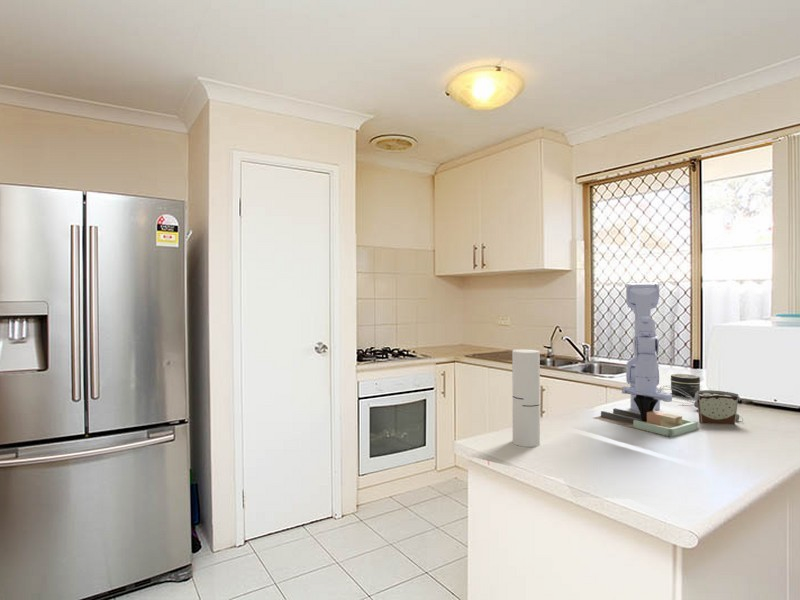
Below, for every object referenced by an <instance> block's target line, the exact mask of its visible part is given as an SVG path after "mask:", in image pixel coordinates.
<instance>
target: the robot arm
mask: <svg viewBox="0 0 800 600" xmlns="http://www.w3.org/2000/svg"><path fill="white" fill-rule="evenodd" d="M625 287H626V288H625V289H626V290H625V294H626V295H625V297H626V305H627V308H628V309H632V311H633V314H634V338H633V354H634V357H632V358H630V359H629V360H627V362H626V367H625V368H626V372H625V373H626V374H625V375H626V376H625V379H626V384H627V385H630V387H629V386H621V394H624V395H625V394H626V395H630V409H631V410H633V411H636V412H639V414H640V415H641V418H642V421H644V422H647V412H650V411H654V410H655V411H659V410H660V408H661V401H662V402H666V403H670V402H671V403H672V402H673V394H672V395H671V393H669V394H668V393H667V394H666V393H665V392H664V393H663V391H662V392H659V391H660V389H659V388H658V387H657V386H658V385H660V369H659V364H658V362H657V359H658V356H659V347H660V346H659V340H658V336H657V333H656V322H655V320H654V319H653V318H651V310H653V309H656V308H657V305H659V300H660V284H659V283H658V282H637V283H636V282H633V283H632V282H627V284H626V285H625Z"/></svg>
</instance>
